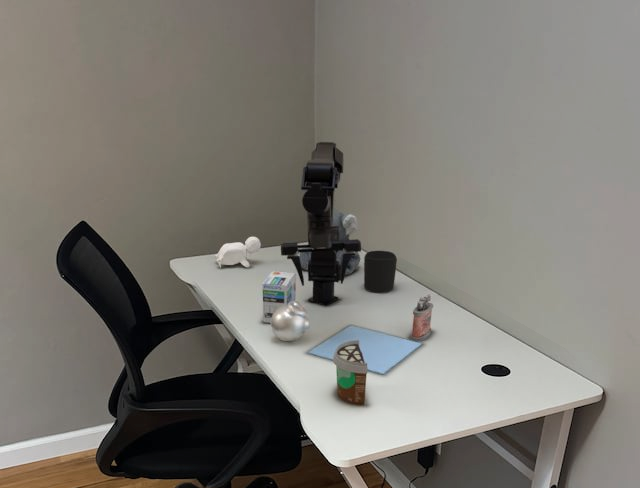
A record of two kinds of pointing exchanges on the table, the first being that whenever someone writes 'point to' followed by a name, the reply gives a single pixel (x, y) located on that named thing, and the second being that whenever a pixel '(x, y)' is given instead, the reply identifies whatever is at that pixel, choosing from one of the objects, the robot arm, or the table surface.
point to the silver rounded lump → (290, 321)
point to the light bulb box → (277, 292)
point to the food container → (350, 372)
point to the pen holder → (379, 271)
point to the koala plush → (345, 228)
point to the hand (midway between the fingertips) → (322, 284)
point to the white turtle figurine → (237, 252)
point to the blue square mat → (369, 348)
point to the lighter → (422, 319)
